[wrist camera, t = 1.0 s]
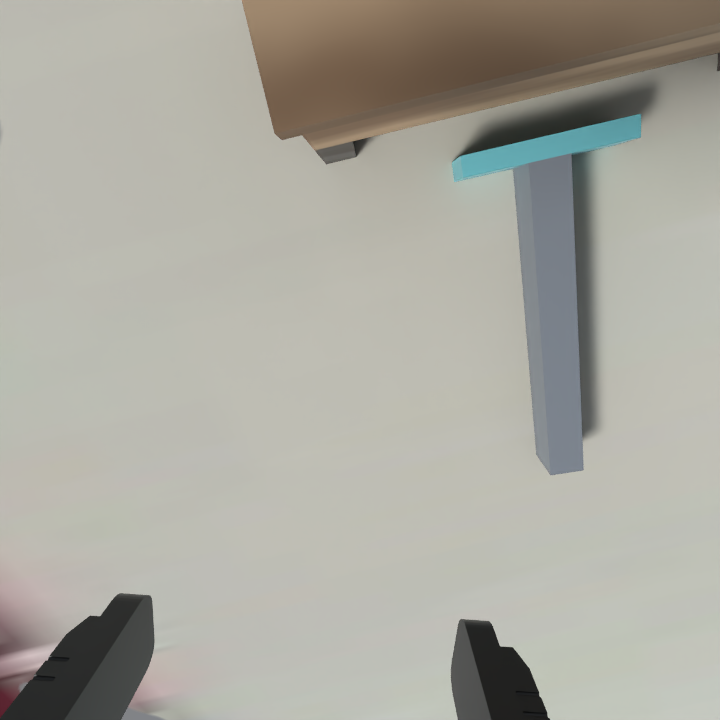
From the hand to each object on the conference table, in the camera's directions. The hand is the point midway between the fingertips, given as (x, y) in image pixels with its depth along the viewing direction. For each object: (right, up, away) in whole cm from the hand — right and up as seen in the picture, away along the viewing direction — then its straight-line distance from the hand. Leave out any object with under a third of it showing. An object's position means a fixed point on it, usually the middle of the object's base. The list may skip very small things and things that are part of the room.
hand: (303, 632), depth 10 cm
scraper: (+15, +10, +19) cm, 26 cm away
